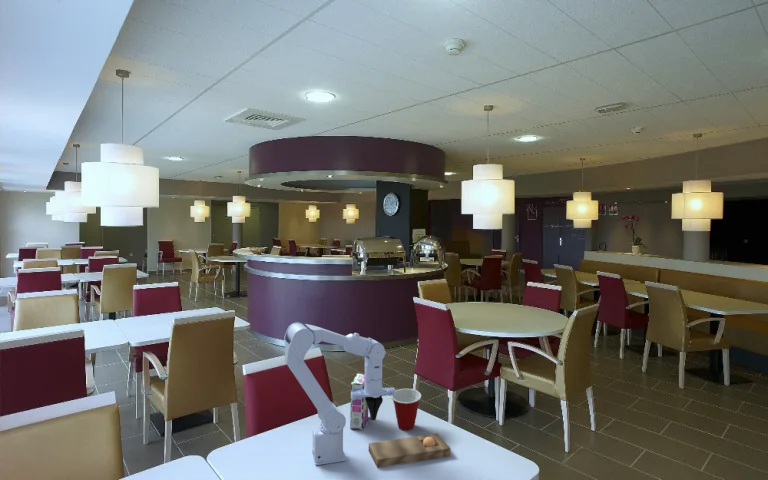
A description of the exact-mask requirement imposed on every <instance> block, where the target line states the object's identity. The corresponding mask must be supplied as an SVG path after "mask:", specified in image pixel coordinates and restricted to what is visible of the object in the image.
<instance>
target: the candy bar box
mask: <svg viewBox="0 0 768 480" xmlns="http://www.w3.org/2000/svg"><path fill="white" fill-rule="evenodd" d="M363 389H365V373H356V375H355V377H354V378H353V379H352V381H351V383H350V393H351V392H355V391H359V390H363ZM368 418H369V408H368V405H367V403H366V401H365V398H360V399H355V400H352V399H351V398H350V418H349V419H350V422H349V423H350V426H349V428H350V429H351V430H361V431H362V430H364V427H365V424H366V422H367V420H368Z"/></svg>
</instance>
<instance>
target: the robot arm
mask: <svg viewBox="0 0 768 480" xmlns="http://www.w3.org/2000/svg"><path fill="white" fill-rule="evenodd" d="M283 339H284V361H285V363H286V365H287V367H288V368H289V370H290V371H291V372H292V374H293V375H294V377H295V378H296V380H297V381H298V383H299V384H300V386H301V387H302V389H303V390H304V392H305V393H306V395H307V396H308V398H309V399H310V400H311V402H312V404H313V406H314V407H315V409H316V410H317V415H318V418H319V421H320V420H321V421H320V422H321V423H320V426H319V428H317V429H314V430H313V431H312V450H311V451H312V456H313V460H314V464H315V466H320V465H327V464H333V463H341V462H345V461H347V457H346V454H345V452H344V428H345V427H346V424H347V418H346V417H345V415H344V414H343V413H342V412H341V411H340V410H339V408H338V407H337V405H336V404H335V403H334V402H332V401H331V400H330V399H329V397H328V396H327V394H326V393H325V392H324V390H323V389H322V387H321V385H320V384H319V382H318V381H317V379H316V378H315V376H314V375H313V373H312V372H311V370H310V368H309V367H308V366H307V364H306V362H305V360H304V359H305V357H306V354H307V353H308V352H309V350H310V348H311V347H312V345H314V346H317V345H318V344H319V343H321V342H324V343H328V344H332V345H337V346H339V347H340V346H341V347H343V350H344V352H346V353H350V354H354V355H357V356H361V357H364V374H365V389H363V390H359V391H355V392H351V391H350V400H351V399H352V400H355V399H360V398H365V401H366V403H367V405H368V413H369V417H370V419H371V421H376V420H377V416H378V412H379V411H380V407H381V405H382V404H383V401H384V398H383V397H385V396H391V395H392V396H394V395H395V391H396V389H395V387H383V360H384V358H385V356H386V354H387V351H386V350H385V347H384V345H383V344H382V343H381V342H379V341H377V340H375V339H373V338H371V337H364V336H360V334H359V333H358V332H354V333H349V334H347V335H343V334H340V333H337V332H334V331H332V330H329V329H325V328H323V327H320V326H316V325H314V324H307V323H304V324H303V323H302V322H298V321H297V322H293V323H291V324H290V325H289V326H288V327H287V329H286V331H285V333H284V337H283Z"/></svg>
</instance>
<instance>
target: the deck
mask: <svg viewBox="0 0 768 480" xmlns="http://www.w3.org/2000/svg"><path fill="white" fill-rule="evenodd" d="M426 437H432V438H433V439H434V440H435V446H432V447H426V448H425V447H424V445H423V440H424V439H425V438H426ZM368 452H369V455H370V457H371V458H372V461H373V463H374V464H375V466H376V468H378V469H379V468H385V467H391V466H395V465H403V464H409V463H414V462H415V463H416V462H421V461H422V462H423V461H427V460H434V459H440V458H445V457H450V456H451V447H450V445H448V444H447V443H446V441H445V440H444V439H443V438H442V437H441V435H440V434H439V433H431V434H423V435H415V436H411V437H410V436H409V437H403V438H397V439H388V440H382V441H381V440H380V441H376V442H368Z"/></svg>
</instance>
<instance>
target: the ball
mask: <svg viewBox="0 0 768 480" xmlns="http://www.w3.org/2000/svg"><path fill="white" fill-rule="evenodd" d="M423 445H424V447H425V448H426V447H432V446H435V440H434V439H433V438H432V437H426V438H425V439H424V440H423Z"/></svg>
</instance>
